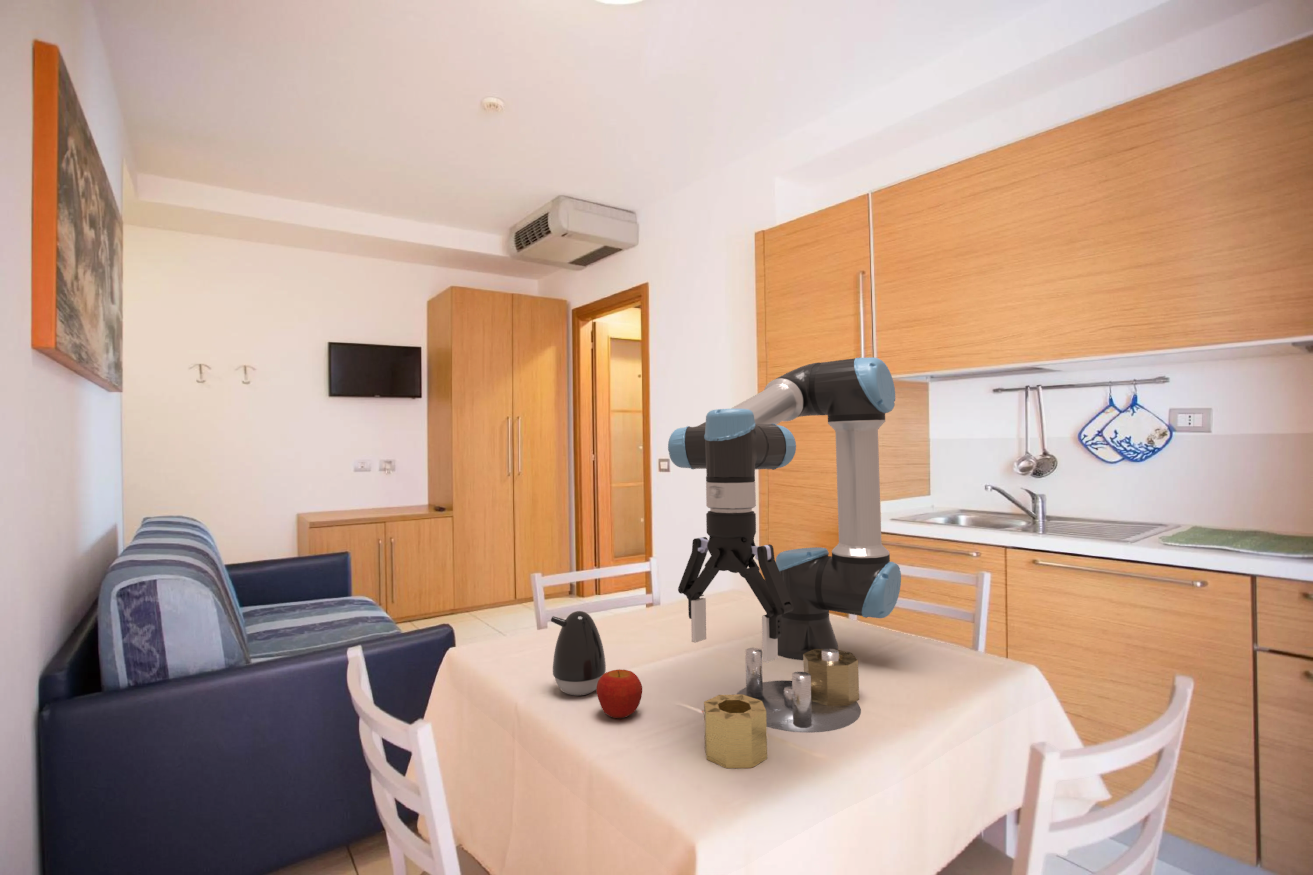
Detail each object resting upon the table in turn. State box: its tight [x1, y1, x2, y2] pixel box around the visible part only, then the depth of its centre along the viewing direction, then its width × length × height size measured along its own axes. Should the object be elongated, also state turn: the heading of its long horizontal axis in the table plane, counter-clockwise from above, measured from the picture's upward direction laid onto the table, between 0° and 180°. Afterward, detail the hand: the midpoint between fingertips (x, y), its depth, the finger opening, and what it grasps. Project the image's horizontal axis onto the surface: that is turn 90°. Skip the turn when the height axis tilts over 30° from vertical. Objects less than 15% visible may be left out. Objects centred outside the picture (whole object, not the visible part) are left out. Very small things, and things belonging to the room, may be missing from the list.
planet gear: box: [703, 693, 768, 769], centre depth 94 cm, size 9×9×7 cm
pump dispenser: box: [550, 610, 607, 697], centre depth 119 cm, size 10×10×15 cm
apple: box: [596, 668, 643, 719], centre depth 108 cm, size 8×8×8 cm
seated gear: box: [802, 649, 860, 706], centre depth 113 cm, size 9×9×7 cm
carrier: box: [735, 647, 862, 734], centre depth 110 cm, size 22×22×9 cm
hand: (732, 649), depth 94 cm, fingers open, 13 cm apart
